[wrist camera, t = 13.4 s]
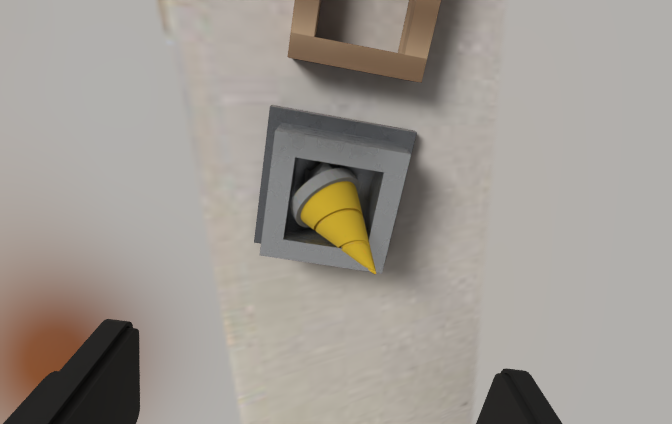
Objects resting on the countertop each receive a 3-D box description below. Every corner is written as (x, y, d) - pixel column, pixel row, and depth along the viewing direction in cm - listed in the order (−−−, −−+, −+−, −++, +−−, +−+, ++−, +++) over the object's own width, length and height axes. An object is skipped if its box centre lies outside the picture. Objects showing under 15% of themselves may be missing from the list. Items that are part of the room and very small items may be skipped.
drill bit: (345, 138, 30) (423, 240, 25) (321, 186, 33) (386, 283, 29) (284, 143, 27) (361, 260, 22) (265, 196, 30) (328, 306, 26)
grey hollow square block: (271, 104, 29) (261, 111, 25) (413, 130, 30) (429, 141, 26) (256, 237, 33) (244, 265, 28) (383, 257, 34) (391, 287, 29)
